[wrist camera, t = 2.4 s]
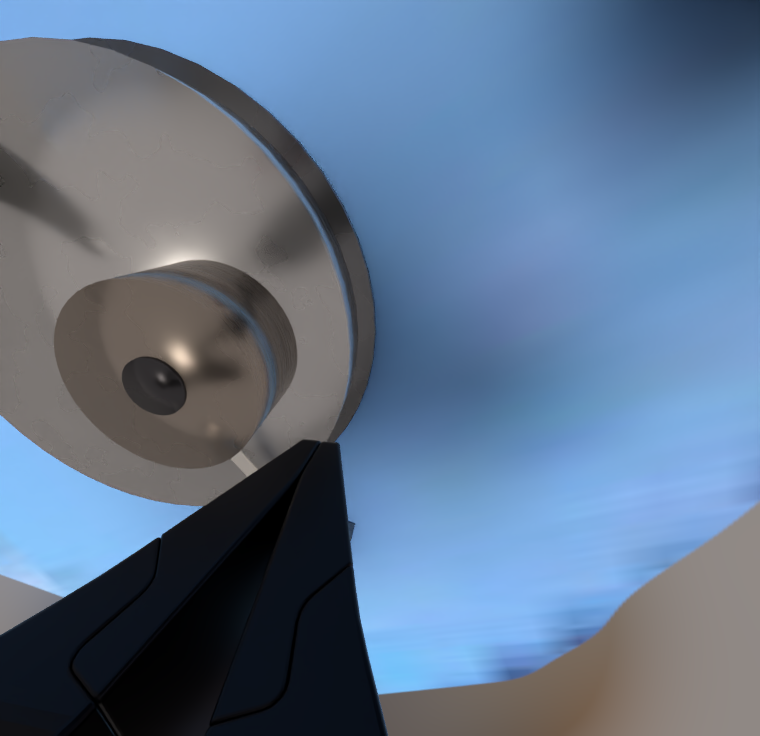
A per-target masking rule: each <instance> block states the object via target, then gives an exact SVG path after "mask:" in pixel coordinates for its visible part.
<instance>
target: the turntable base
mask: <svg viewBox="0 0 760 736" xmlns="http://www.w3.org/2000/svg"><path fill="white" fill-rule="evenodd" d="M74 41H78V42H82V43H87V44H91V45H95V46H99V47H103V48H107V49H111V50H113V51H116V52H118V53H121V54H123V55H126V56H128V57H131V58H133V59H135V60H138V61H140V62H143V63H145V64H148V65H150V66H152V67H154V68H156V69H158V70H160V71H162V72H164V73H166V74H168V75H170V76H172V77H174V78H176V79H179V80H181V81H183V82H185V83H187V84H189V85H191V86H193V87H194V88H196V89H198V90H199V91H201V92H203V93H205V94H206V95H208V96H210V97H211V98H213V99H215V100H217V101H218V102H220V103H222V104H223V105H225V106H226V107H228V108H229V109H230V110H231V111H233V112H234V113H235V114H237V115H238V116H239V117H241V118H242V119H243V120H244V121H246V122H247V123H248V124H250V125H251V126H252V127H254V128H255V129H256V130H257V131H258V132H259V133H260V134H261V135H262V136H263V137H264V138H265V139H266V140H267V141H268V142H269V143H270V144H271V145H272V146H273V147H274V148H275V149H276V150H277V151H278V152H279V153H280V154H281V155H282V156H283V157H284V158H285V159H286V161H287V162H288V163H289V164H290V166H291V167H292V168H293V169H294V171H295V172H296V173H297V174H298V176H299V177H300V178H301V179H302V181H303V182H304V183H305V184H306V186H307V187H308V189H309V190H310V192H311V194H312V195H313V197H314V198H315V200H316V202H317V203H318V205H319V206H320V208H321V210H322V211H323V213H324V214H325V216H326V218H327V220H328V222H329V224H330V227H331V229H332V231H333V233H334V235H335V237H336V239H337V241H338V243H339V245H340V248H341V251H342V254H343V257H344V260H345V263H346V266H347V269H348V272H349V275H350V278H351V283H352V288H353V293H354V297H355V302H356V308H357V322H358V348H357V361H356V366H355V371H354V375H353V380H352V384H351V387H350V390H349V392H348V395H347V398H346V400H345V403H344V405H343V408H342V410H341V413H340V415H339V417H338V420H337V422H336V424H335V427H334V429H333V430H332V432H331V434H330V436H329V438H328V439H327V441H328V442H335V441H336V439H337V438H338V437H339V436H340V434H341V433H342V432H343V431H344V430H345V428H346V427H347V426H348V424H349V422H350V421H351V419H352V417H353V415H354V414H355V412H356V410H357V409H358V407H359V404H360V402H361V399H362V397H363V394H364V391H365V389H366V386H367V384H368V380H369V375H370V371H371V367H372V363H373V358H374V346H375V335H376V326H375V307H374V298H373V293H372V287H371V282H370V276H369V271H368V268H367V265H366V261H365V258H364V255H363V252H362V249H361V246H360V242H359V239H358V237H357V235H356V232H355V230H354V228H353V226H352V224H351V221H350V219H349V217H348V215H347V213H346V211H345V208H344V206H343V204H342V203H341V201H340V199H339V198H338V196H337V194H336V193H335V191H334V190H333V188H332V186H331V185H330V183H329V181H328V180H327V178H326V176H325V175H324V173H323V172H322V170H321V169H320V168H319V167H318V165H317V164H316V163H315V161H314V160H313V159H312V158H311V156H310V155H309V154H308V153H307V151H306V150H305V149H304V147H303V146H302V145H301V144H300V142H299V141H298V140H297V139H296V138H295V137H294V136H293V135H292V134H291V133H290V132H289V131H288V130H287V129H286V128H285V127H284V126H283V125H282V124H281V123H280V122H279V121H278V120H277V119H276V118H275V117H274V116H273V115H272V114H271V113H270V112H269V111H267V110H266V109H265V108H263V107H262V106H261V105H260V104H258V103H257V102H256V101H255V100H253V99H252V98H251V97H249V96H248V95H247V94H246V93H244V92H243V91H242V90H240V89H239V88H238V87H236V86H235V85H233V84H231V83H229V82H228V81H226V80H224V79H223V78H221V77H219V76H218V75H216V74H214V73H212V72H211V71H209V70H207V69H206V68H204V67H202V66H201V65H199V64H197V63H194V62H192V61H189V60H187V59H185V58H182V57H180V56H177V55H175V54H173V53H170V52H168V51H165V50H163V49H160V48H155V47H151V46H147V45H143V44H139V43H135V42H131V41H126V40H116V39H101V38H82V39H74Z"/></svg>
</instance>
